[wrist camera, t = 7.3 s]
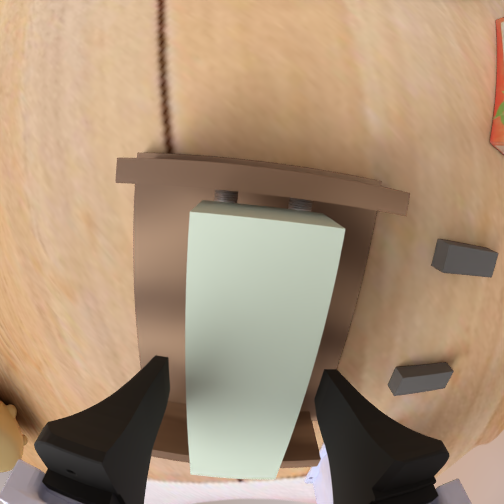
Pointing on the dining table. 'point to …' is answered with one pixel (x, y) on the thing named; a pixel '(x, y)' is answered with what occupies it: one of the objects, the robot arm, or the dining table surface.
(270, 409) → the shelf plank
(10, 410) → the yellow animal figurine
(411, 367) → the block
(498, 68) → the cracker box
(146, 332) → the walnut carcass
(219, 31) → the dining table surface
